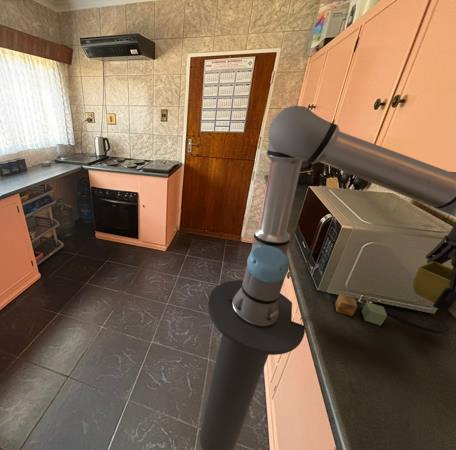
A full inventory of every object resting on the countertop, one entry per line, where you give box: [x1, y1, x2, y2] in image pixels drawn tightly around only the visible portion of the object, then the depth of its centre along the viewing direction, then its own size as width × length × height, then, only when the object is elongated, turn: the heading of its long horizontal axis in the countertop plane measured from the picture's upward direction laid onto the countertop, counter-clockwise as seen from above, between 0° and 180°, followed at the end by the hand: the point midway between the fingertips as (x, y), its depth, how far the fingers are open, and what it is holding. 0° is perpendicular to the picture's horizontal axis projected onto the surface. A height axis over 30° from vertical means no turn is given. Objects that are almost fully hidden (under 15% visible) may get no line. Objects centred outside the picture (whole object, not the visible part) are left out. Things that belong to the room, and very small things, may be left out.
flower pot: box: [412, 262, 453, 304], centre depth 71 cm, size 9×9×9 cm
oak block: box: [334, 293, 358, 317], centre depth 86 cm, size 4×4×4 cm
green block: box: [361, 301, 388, 326], centre depth 83 cm, size 4×4×4 cm
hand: (430, 294), depth 73 cm, fingers closed on flower pot, 11 cm apart
